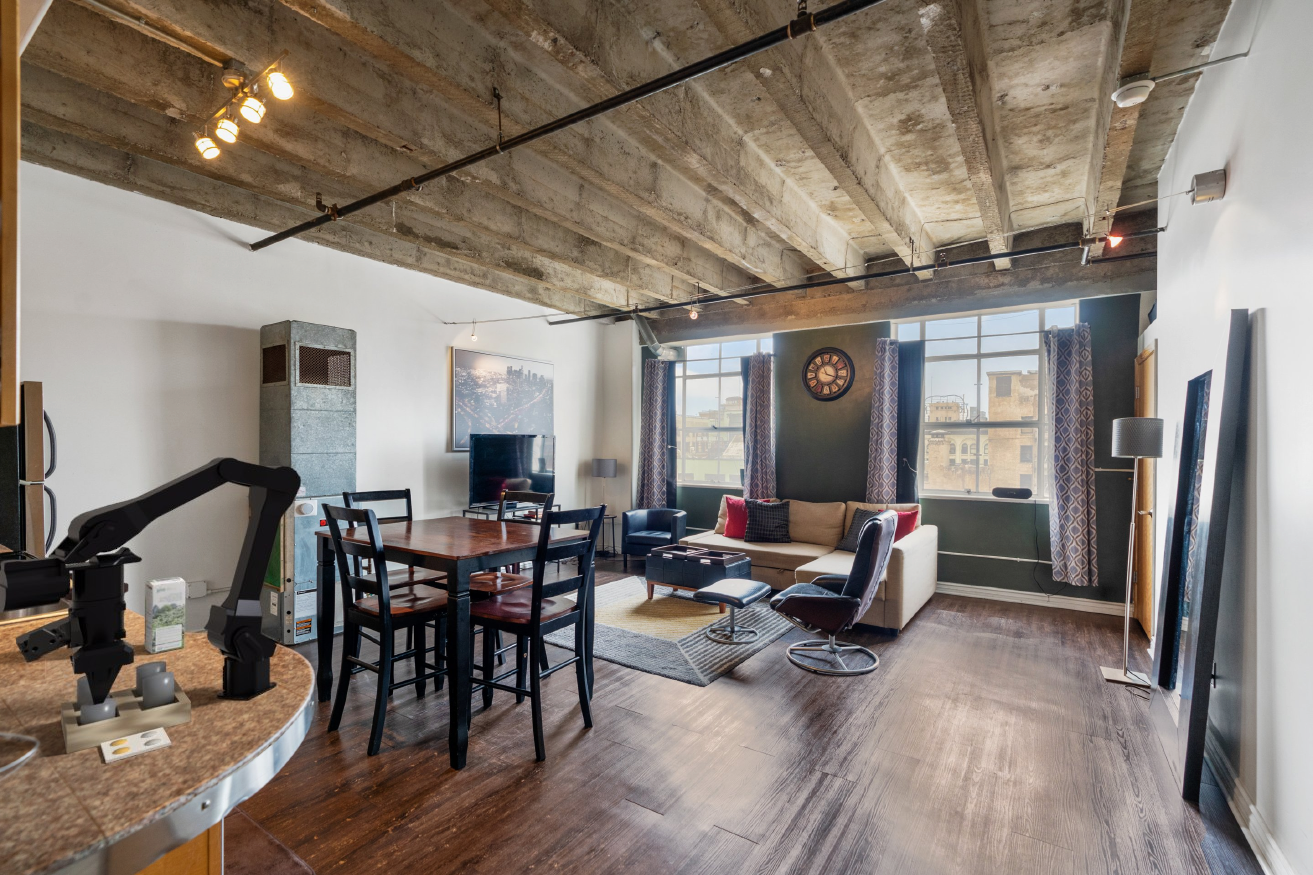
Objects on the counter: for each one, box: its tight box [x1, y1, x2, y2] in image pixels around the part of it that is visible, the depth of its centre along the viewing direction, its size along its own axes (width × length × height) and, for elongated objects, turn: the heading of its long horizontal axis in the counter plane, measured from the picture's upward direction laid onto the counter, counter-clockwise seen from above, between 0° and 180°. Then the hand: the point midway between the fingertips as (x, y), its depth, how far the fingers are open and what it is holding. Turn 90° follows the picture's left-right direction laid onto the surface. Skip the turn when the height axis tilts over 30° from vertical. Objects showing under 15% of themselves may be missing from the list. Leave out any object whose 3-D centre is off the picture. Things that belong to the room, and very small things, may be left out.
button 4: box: [143, 671, 175, 708], centre depth 97 cm, size 4×4×4 cm
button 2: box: [81, 698, 115, 726], centre depth 92 cm, size 4×4×4 cm
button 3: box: [135, 660, 167, 695], centre depth 102 cm, size 4×4×4 cm
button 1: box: [76, 675, 111, 709], centre depth 97 cm, size 4×4×4 cm
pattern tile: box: [100, 727, 172, 764], centre depth 89 cm, size 7×7×1 cm
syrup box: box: [144, 576, 187, 655], centre depth 132 cm, size 6×6×14 cm
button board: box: [60, 678, 192, 754], centre depth 97 cm, size 14×14×3 cm
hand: (98, 703), depth 92 cm, fingers closed, pressing on button 2
